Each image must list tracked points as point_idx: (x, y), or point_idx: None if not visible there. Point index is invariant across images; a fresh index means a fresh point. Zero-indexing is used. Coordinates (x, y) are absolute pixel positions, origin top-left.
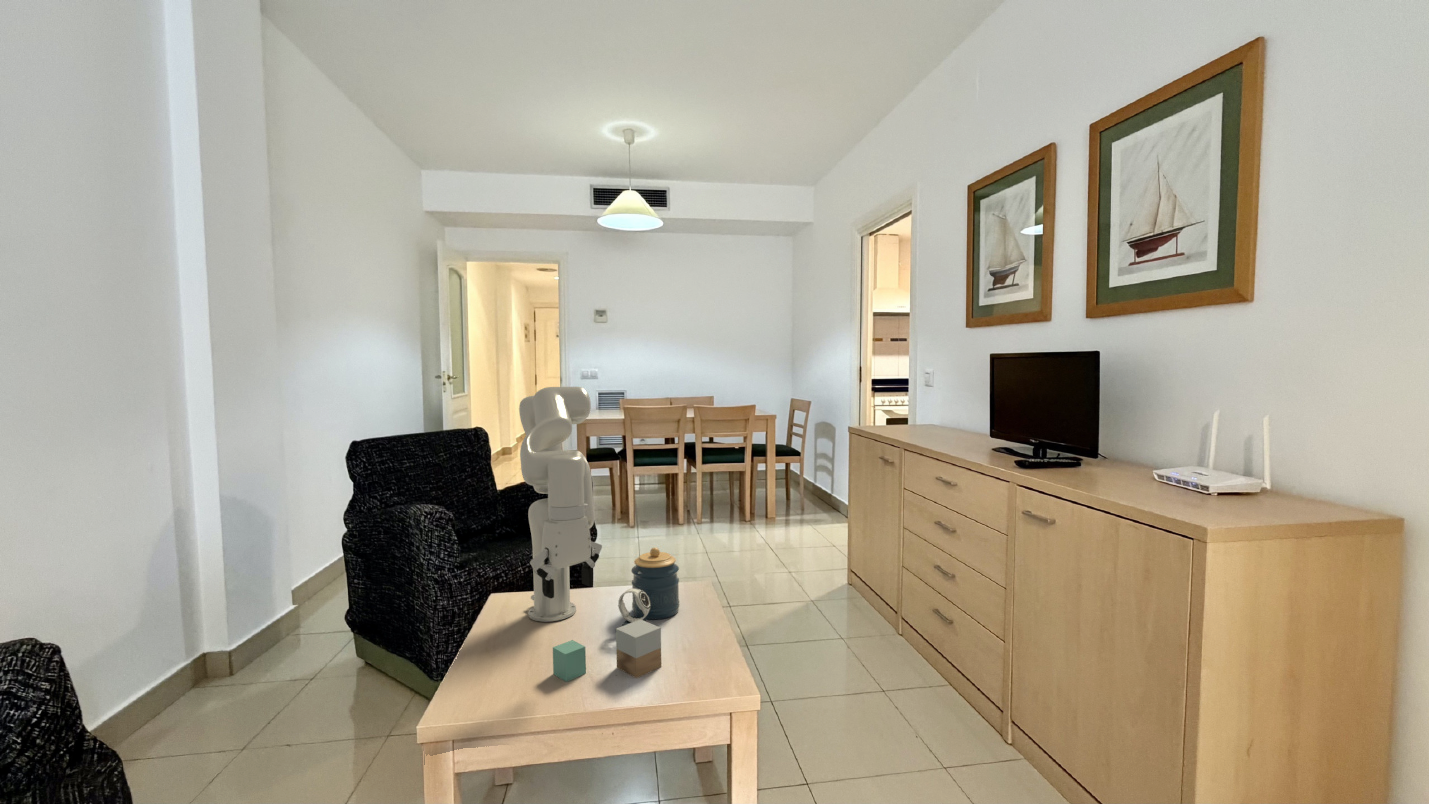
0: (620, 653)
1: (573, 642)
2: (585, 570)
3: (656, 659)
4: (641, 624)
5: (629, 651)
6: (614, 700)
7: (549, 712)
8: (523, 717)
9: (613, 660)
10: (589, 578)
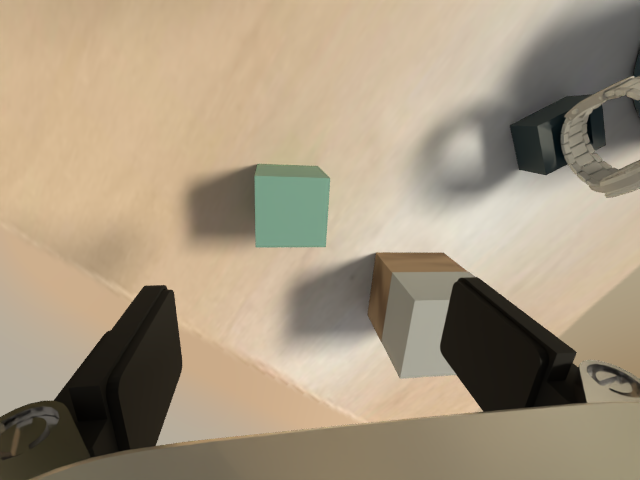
0: (386, 284)
1: (320, 196)
2: (511, 389)
3: None
4: None
5: (388, 324)
6: (282, 349)
7: None
8: (106, 284)
9: (397, 218)
10: (467, 387)
